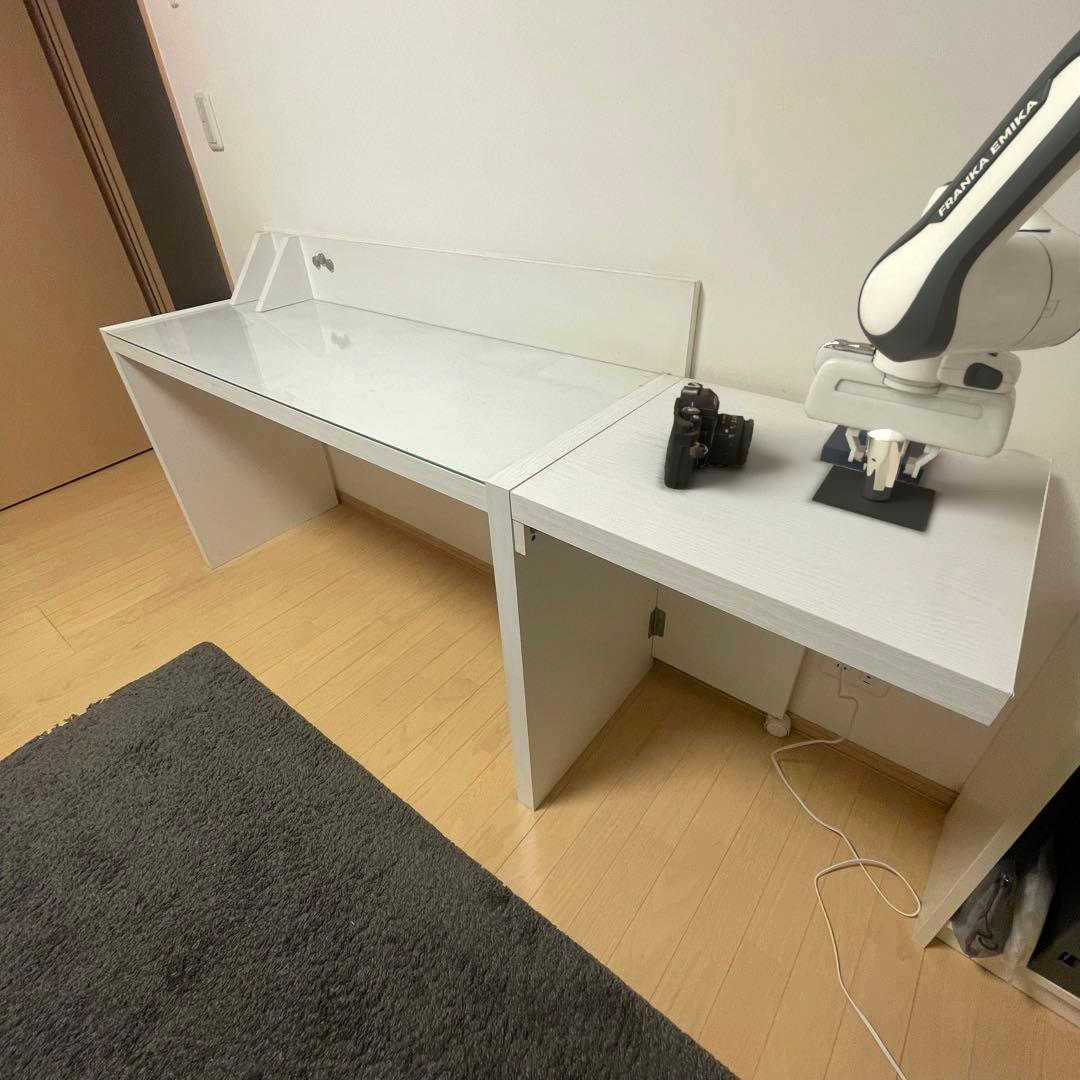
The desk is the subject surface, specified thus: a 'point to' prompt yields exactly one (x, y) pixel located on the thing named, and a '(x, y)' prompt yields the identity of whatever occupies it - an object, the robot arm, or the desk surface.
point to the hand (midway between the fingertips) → (882, 467)
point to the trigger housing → (839, 452)
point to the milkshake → (882, 463)
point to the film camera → (703, 436)
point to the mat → (900, 508)
